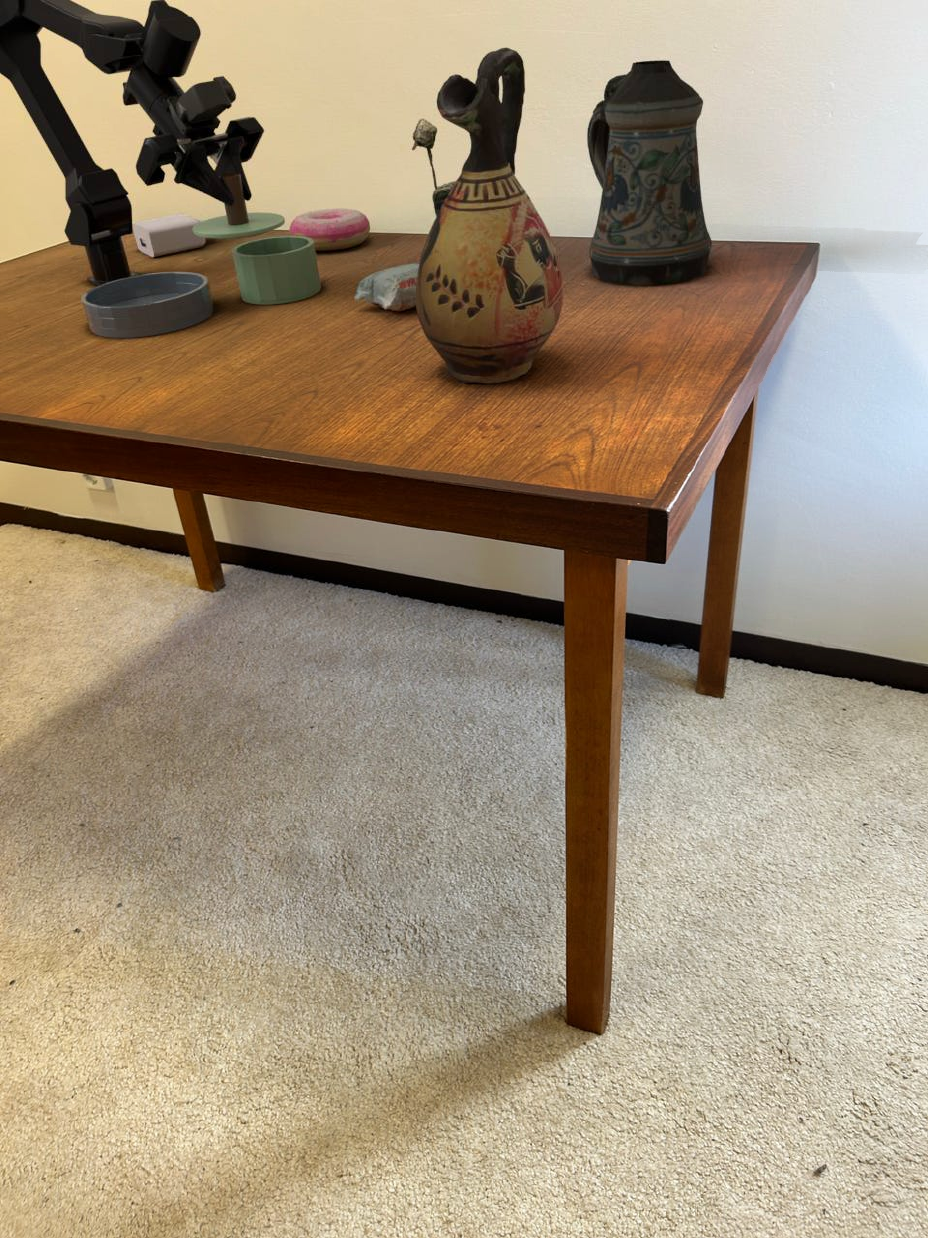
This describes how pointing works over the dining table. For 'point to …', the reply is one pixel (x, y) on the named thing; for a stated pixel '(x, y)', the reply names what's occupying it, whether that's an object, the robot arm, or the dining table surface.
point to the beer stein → (648, 179)
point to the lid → (237, 216)
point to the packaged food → (390, 288)
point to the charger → (167, 235)
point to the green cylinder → (277, 270)
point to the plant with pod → (426, 139)
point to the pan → (148, 304)
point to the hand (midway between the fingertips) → (241, 200)
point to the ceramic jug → (488, 240)
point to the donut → (332, 228)
